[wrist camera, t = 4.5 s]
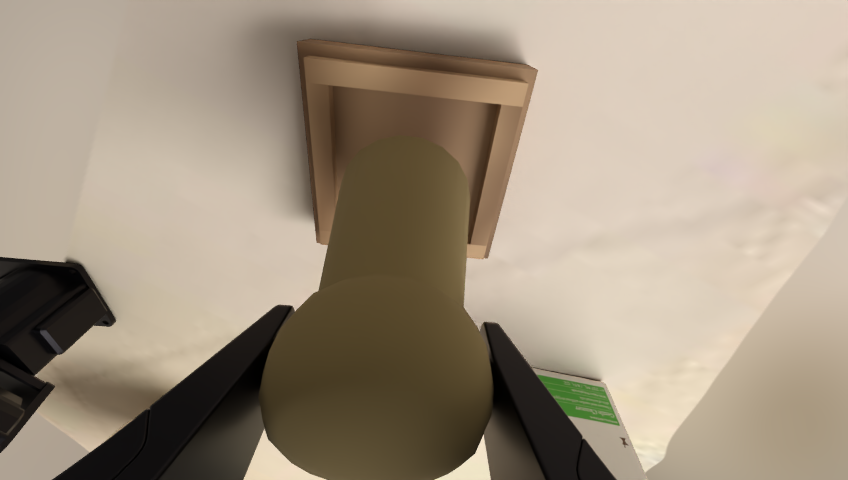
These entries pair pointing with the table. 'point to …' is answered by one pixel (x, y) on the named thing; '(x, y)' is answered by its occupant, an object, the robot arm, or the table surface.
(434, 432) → the olive pear-shaped figure
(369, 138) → the square wooden tray
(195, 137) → the table surface
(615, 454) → the skincare box
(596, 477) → the robot arm
